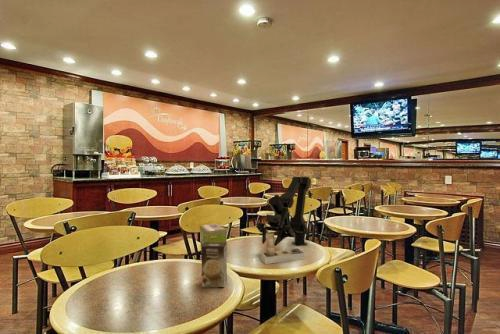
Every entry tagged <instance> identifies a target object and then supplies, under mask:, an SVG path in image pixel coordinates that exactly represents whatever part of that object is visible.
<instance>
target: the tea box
mask: <svg viewBox="0 0 500 334" xmlns="http://www.w3.org/2000/svg"><path fill="white" fill-rule="evenodd" d="M199 234H200V236H199V237H200V241H199V242H200V247H201V246H202V245H203V244H204V242H226V253H227V254H228V247H227V246H228V242H227V228H225V227H223V226H222V225H220V224H219V223H210V224H204V225H203V224H202V225H201V224H200V225H199Z"/></svg>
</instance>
